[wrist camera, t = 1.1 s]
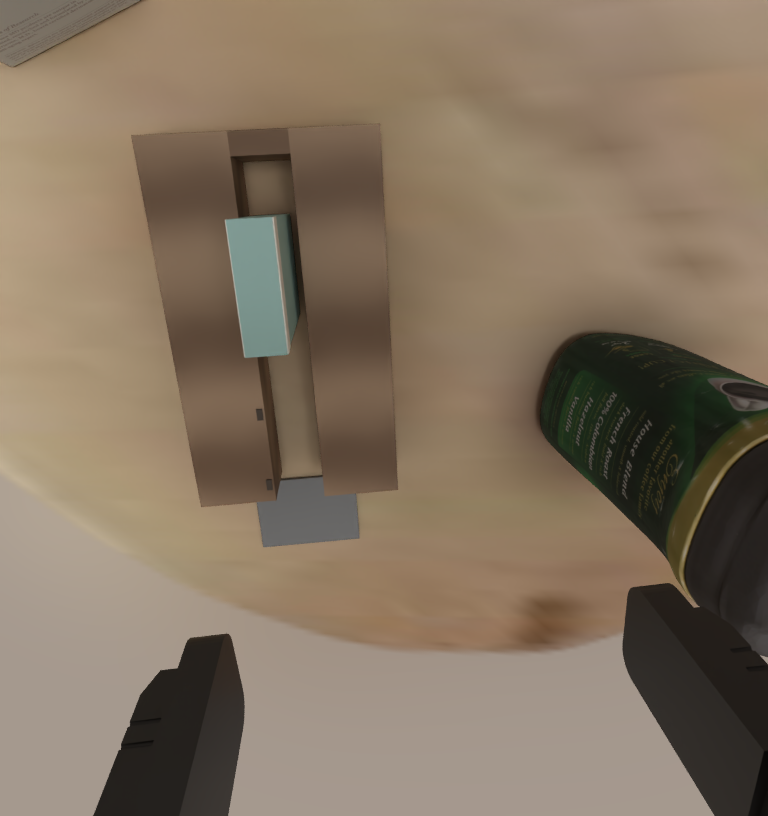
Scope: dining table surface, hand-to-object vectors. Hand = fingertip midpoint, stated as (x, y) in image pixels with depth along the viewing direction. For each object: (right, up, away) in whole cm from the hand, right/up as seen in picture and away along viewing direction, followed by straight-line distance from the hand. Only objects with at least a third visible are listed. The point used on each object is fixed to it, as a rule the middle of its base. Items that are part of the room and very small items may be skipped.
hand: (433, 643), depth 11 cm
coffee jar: (+13, +5, +23) cm, 27 cm away
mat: (-6, -2, +23) cm, 24 cm away
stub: (-6, +12, +18) cm, 23 cm away
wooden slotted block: (-6, +9, +19) cm, 22 cm away
